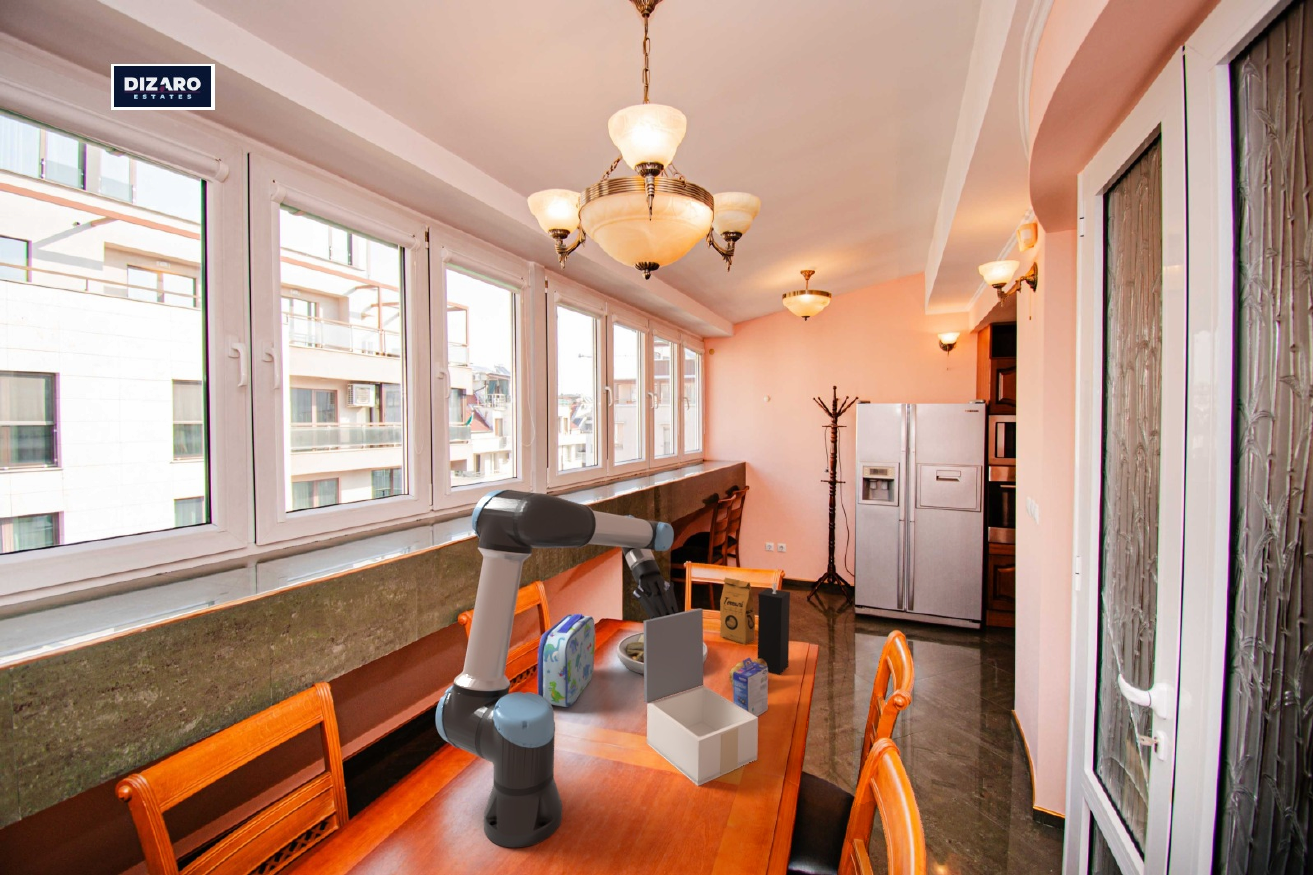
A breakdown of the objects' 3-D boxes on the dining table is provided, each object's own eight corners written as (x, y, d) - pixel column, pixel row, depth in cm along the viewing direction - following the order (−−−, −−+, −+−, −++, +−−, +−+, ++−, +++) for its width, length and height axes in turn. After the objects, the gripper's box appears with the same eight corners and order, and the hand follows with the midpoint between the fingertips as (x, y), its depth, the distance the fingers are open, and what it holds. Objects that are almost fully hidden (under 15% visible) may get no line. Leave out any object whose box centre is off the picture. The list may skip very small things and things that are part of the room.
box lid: (646, 703, 142) (644, 701, 143) (703, 685, 152) (700, 683, 153) (646, 622, 142) (643, 620, 143) (702, 609, 152) (699, 608, 153)
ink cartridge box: (751, 703, 163) (752, 652, 163) (768, 710, 159) (769, 658, 159) (731, 715, 156) (732, 663, 156) (748, 723, 152) (749, 669, 152)
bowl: (598, 662, 190) (598, 639, 190) (657, 637, 213) (657, 616, 213) (668, 691, 171) (668, 664, 170) (724, 660, 193) (725, 637, 193)
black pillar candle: (788, 667, 188) (790, 582, 187) (780, 675, 181) (781, 587, 180) (766, 661, 192) (767, 578, 191) (756, 669, 185) (758, 583, 185)
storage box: (646, 743, 142) (647, 703, 141) (703, 722, 152) (703, 685, 152) (698, 786, 125) (699, 741, 125) (757, 760, 135) (758, 718, 135)
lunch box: (565, 671, 183) (566, 605, 182) (598, 674, 180) (599, 608, 180) (532, 710, 157) (532, 635, 157) (569, 715, 155) (570, 638, 154)
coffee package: (744, 647, 204) (745, 586, 203) (715, 638, 212) (716, 579, 212) (759, 640, 211) (760, 580, 211) (731, 631, 219) (732, 574, 219)
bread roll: (746, 699, 166) (747, 671, 165) (719, 688, 172) (719, 662, 172) (769, 684, 175) (770, 658, 175) (742, 675, 182) (743, 649, 181)
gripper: (656, 569, 169) (690, 644, 156) (618, 575, 162) (650, 655, 149) (667, 555, 165) (703, 631, 152) (628, 561, 157) (663, 642, 144)
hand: (677, 643), depth 150 cm, fingers closed
